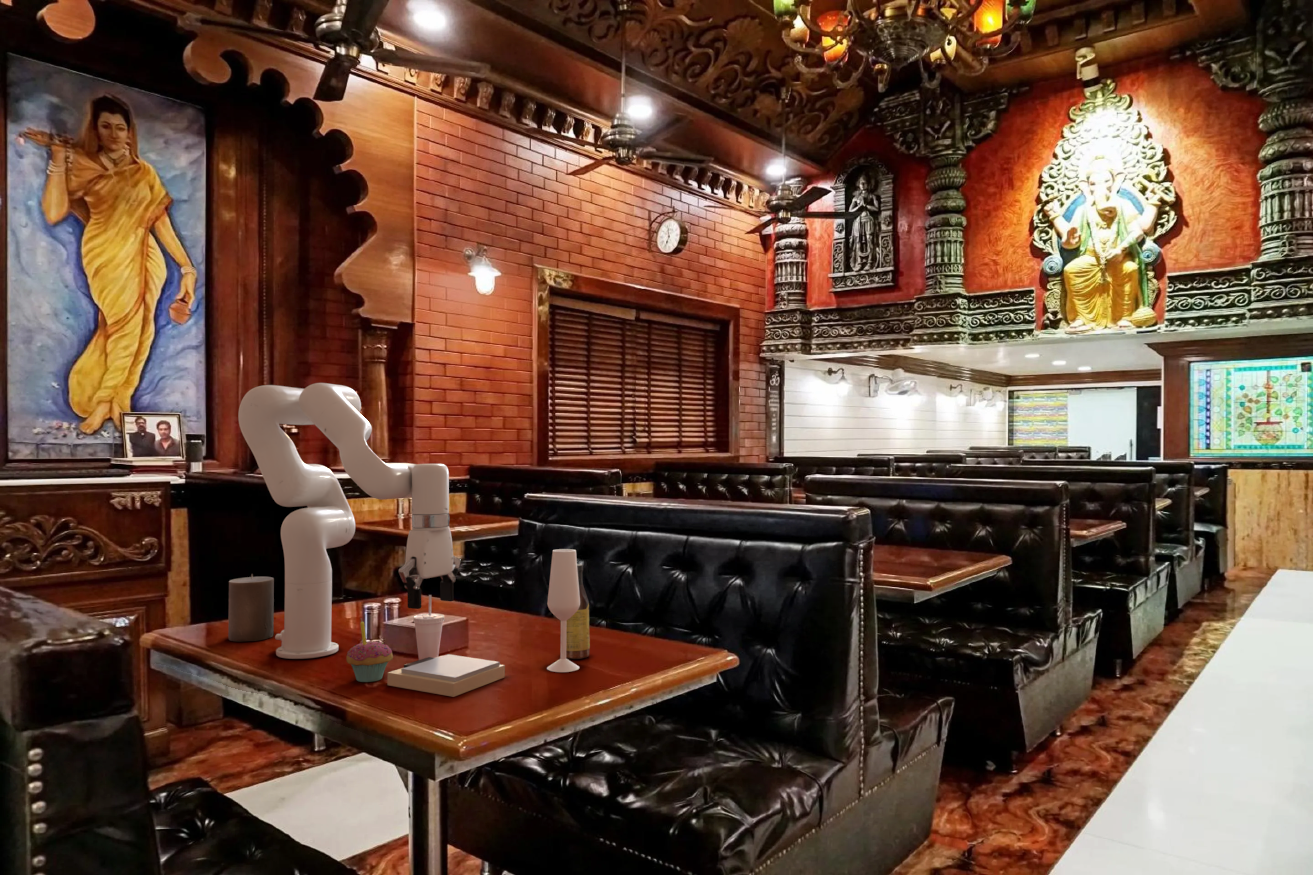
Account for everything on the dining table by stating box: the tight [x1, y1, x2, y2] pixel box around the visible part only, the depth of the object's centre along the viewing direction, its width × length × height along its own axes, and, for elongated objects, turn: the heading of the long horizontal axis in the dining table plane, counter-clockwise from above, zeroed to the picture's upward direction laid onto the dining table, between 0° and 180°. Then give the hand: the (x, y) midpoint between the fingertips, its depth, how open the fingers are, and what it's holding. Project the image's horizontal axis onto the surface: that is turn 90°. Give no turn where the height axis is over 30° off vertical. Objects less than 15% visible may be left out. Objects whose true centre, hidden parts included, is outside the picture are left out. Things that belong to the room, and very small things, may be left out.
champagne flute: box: [546, 548, 580, 673], centre depth 170 cm, size 7×7×24 cm
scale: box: [386, 653, 506, 698], centre depth 159 cm, size 16×15×3 cm
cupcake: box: [346, 617, 394, 683], centre depth 161 cm, size 9×8×12 cm
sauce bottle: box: [559, 563, 591, 660], centre depth 180 cm, size 7×6×20 cm
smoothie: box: [412, 594, 445, 660], centre depth 173 cm, size 6×6×14 cm
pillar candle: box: [227, 573, 275, 643], centre depth 196 cm, size 10×10×15 cm
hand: (431, 604), depth 173 cm, fingers open, 9 cm apart
